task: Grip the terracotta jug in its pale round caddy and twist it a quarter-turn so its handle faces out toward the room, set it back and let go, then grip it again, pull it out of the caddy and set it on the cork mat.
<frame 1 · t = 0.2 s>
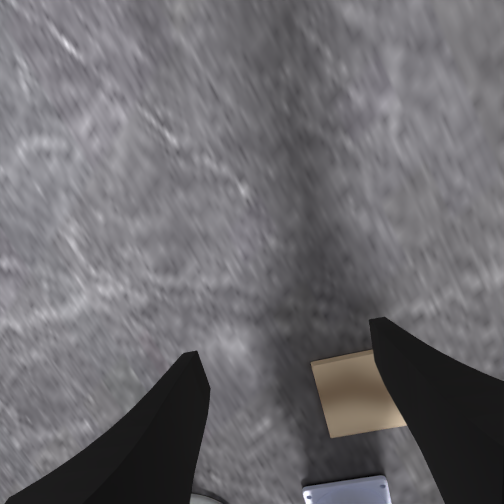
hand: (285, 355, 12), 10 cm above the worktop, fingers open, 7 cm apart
mat: (367, 390, 25), on the worktop
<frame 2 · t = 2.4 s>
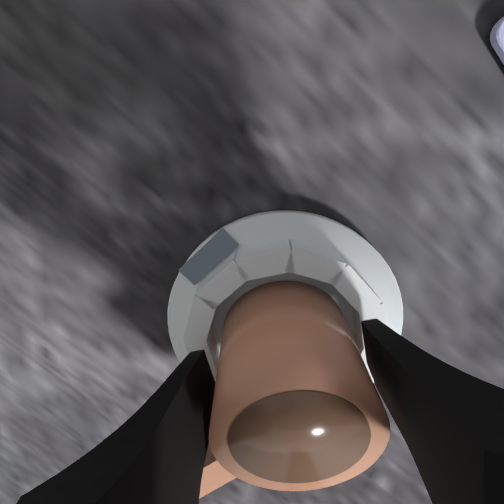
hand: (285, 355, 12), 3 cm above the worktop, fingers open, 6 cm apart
caddy: (282, 319, 15), on the worktop
jug: (283, 332, 14), point 1 cm above the worktop, tilted 6°, touching caddy, gripper
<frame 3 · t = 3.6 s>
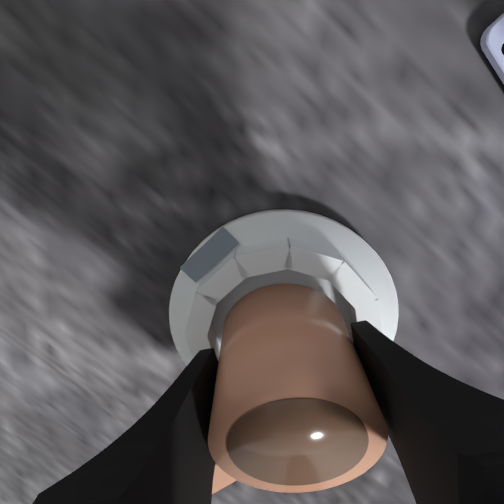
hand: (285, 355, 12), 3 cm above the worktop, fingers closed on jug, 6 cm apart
caddy: (280, 316, 15), on the worktop
jug: (283, 334, 14), point 1 cm above the worktop, tilted 8°, touching gripper
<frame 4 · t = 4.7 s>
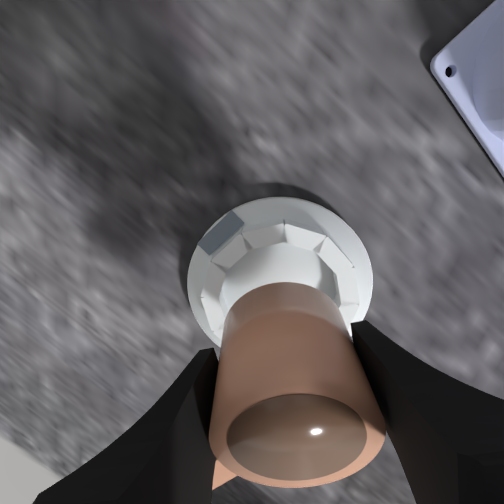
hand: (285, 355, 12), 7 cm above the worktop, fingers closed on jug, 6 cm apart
caddy: (278, 285, 19), on the worktop
jug: (283, 332, 14), point 5 cm above the worktop, tilted 8°, touching gripper
when the fingers open (3 cm above the worktop, at t = 6.1 s): jug stays where it is, point 1 cm above the worktop.
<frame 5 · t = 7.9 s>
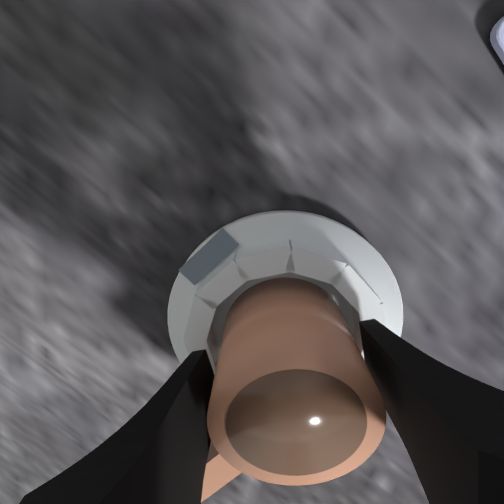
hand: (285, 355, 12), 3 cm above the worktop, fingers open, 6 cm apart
caddy: (282, 319, 15), on the worktop
jug: (283, 331, 14), point 1 cm above the worktop, touching gripper
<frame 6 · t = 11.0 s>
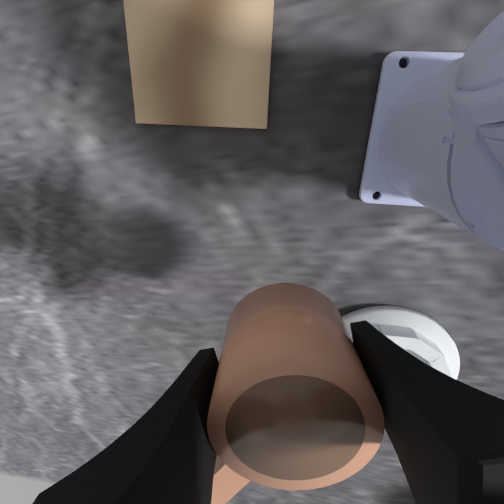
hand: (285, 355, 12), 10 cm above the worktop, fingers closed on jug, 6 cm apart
caddy: (379, 364, 24), on the worktop
mat: (200, 49, 17), on the worktop
jug: (284, 336, 14), point 8 cm above the worktop, touching gripper
when the fingers open (3 cm above the worktop, at t = 13.9 s): jug stays where it is, resting on mat.
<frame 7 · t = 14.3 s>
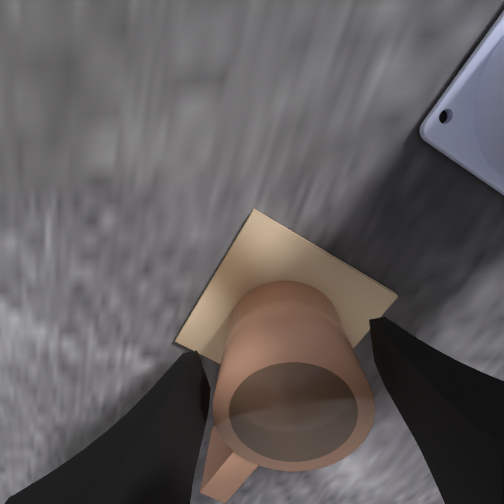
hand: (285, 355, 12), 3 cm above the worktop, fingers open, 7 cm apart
mat: (281, 314, 15), on the worktop
jug: (283, 331, 15), resting on mat
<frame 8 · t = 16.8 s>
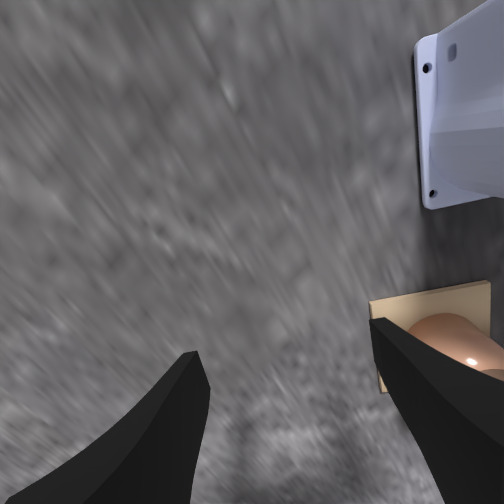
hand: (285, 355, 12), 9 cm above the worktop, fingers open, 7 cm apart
mat: (428, 337, 23), on the worktop
jug: (439, 346, 22), resting on mat
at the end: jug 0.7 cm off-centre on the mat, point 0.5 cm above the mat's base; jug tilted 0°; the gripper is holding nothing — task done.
